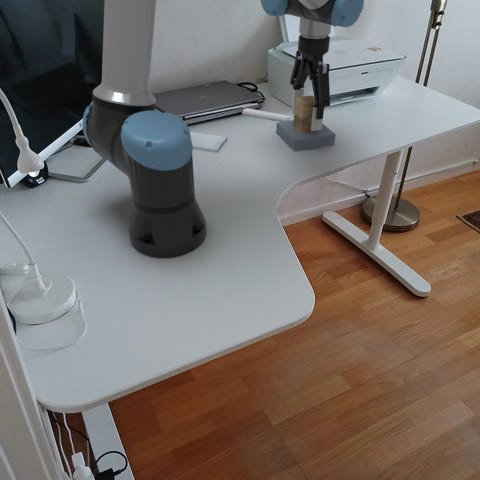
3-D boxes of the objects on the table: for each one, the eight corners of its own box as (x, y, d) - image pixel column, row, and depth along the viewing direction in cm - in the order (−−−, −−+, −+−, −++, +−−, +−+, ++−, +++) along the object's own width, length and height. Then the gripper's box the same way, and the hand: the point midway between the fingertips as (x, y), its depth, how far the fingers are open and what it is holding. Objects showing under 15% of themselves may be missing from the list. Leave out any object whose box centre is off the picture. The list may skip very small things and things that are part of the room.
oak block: (301, 133, 121) (303, 104, 116) (293, 126, 124) (295, 97, 120) (317, 130, 122) (321, 101, 117) (309, 123, 126) (312, 95, 121)
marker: (294, 122, 134) (295, 115, 133) (292, 125, 133) (292, 117, 132) (240, 112, 141) (240, 105, 139) (237, 114, 139) (237, 107, 138)
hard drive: (173, 142, 121) (217, 149, 118) (185, 130, 127) (227, 136, 124) (174, 148, 122) (217, 154, 119) (186, 135, 128) (227, 141, 125)
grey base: (293, 151, 119) (294, 140, 117) (276, 132, 128) (276, 122, 126) (334, 144, 122) (335, 134, 120) (314, 127, 131) (315, 117, 129)
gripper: (353, 46, 101) (339, 136, 114) (307, 22, 118) (300, 103, 132) (323, 49, 99) (313, 141, 112) (280, 25, 116) (276, 107, 130)
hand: (306, 121), depth 122 cm, fingers open, 11 cm apart
